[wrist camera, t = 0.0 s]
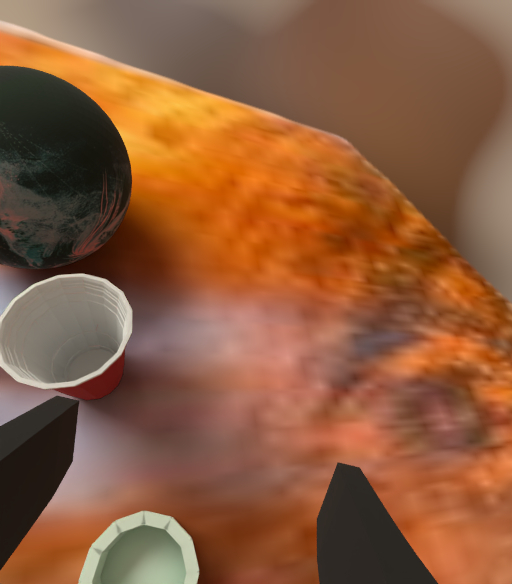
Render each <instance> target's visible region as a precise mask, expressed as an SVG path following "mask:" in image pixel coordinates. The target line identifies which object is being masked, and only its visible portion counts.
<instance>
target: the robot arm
mask: <svg viewBox="0 0 512 584" xmlns="http://www.w3.org/2000/svg"><path fill="white" fill-rule="evenodd" d="M78 406H79V401H77V400H73V399H69V398H65V397H60V396H56V397H54V398H52V399H50V400H48V401H46V402H44V403H42V404H40V405H39V406H37V407H35V408H33V409H31V410H30V411H28V412H26V413H24V414H22V415H20V416H18V417H17V418H15V419H13V420H11V421H9V422H7V423H5V424H4V425H2V426H0V570H1V569H2V567H3V566H4V565H5V563H6V562H7V560H8V559H9V558H10V556H11V555H12V553H13V552H14V551H15V549H16V548H17V546H18V545H19V544H20V542H21V541H22V539H23V538H24V537H25V535H26V534H27V533H28V531H29V530H30V528H31V527H32V526H33V524H34V523H35V521H36V520H37V519H38V517H39V516H40V514H41V513H42V511H43V510H44V509H45V507H46V506H47V504H48V503H49V502H50V500H51V499H52V497H53V496H54V494H55V492H56V490H57V488H58V487H59V485H60V483H61V481H62V480H63V478H64V476H65V474H66V472H67V470H68V469H69V467H70V465H71V463H72V461H73V452H74V443H75V434H76V425H77V415H78ZM317 563H318V572H319V581H320V584H438V583H437V581H436V580H435V579H434V578H433V576H432V575H431V573H430V572H429V571H428V569H427V568H426V567H425V565H424V564H423V563H422V561H421V560H420V559H419V557H418V556H417V555H416V553H415V552H414V550H413V549H412V547H411V546H410V545H409V543H408V542H407V540H406V539H405V537H404V536H403V534H402V533H401V532H400V530H399V529H398V527H397V526H396V524H395V523H394V521H393V519H392V518H391V516H390V515H389V513H388V512H387V510H386V509H385V507H384V505H383V504H382V502H381V501H380V499H379V498H378V496H377V494H376V493H375V491H374V490H373V488H372V486H371V485H370V483H369V482H368V480H367V478H366V477H365V475H364V474H363V472H362V471H361V469H360V468H359V467H355V466H351V465H346V464H342V463H337V466H336V469H335V471H334V474H333V477H332V480H331V482H330V485H329V488H328V490H327V493H326V496H325V499H324V501H323V504H322V507H321V509H320V512H319V515H318V518H317Z"/></svg>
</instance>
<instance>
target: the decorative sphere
mask: <svg viewBox="0 0 512 584" xmlns="http://www.w3.org/2000/svg"><path fill="white" fill-rule="evenodd" d="M131 188H132V175H131V165H130V161H129V157H128V153H127V150H126V147H125V145H124V142H123V140H122V138H121V136H120V134H119V132H118V130H117V129H116V127H115V125H114V124H113V122H112V121H111V119H110V118H109V117H108V115H107V114H106V113H105V112H104V111H103V110H102V109H101V108H100V106H99V105H98V104H97V103H96V102H95V101H93V100H92V99H91V98H90V97H89V96H87V95H86V94H85V93H84V92H82V91H81V90H80V89H78V88H76V87H75V86H73V85H72V84H70V83H68V82H67V81H65V80H62V79H60V78H58V77H56V76H54V75H51V74H49V73H45V72H42V71H39V70H35V69H31V68H26V67H18V66H0V264H2V265H6V266H11V267H15V268H25V269H47V268H54V267H60V266H64V265H68V264H71V263H73V262H76V261H79V260H81V259H83V258H85V257H87V256H89V255H90V254H92V253H93V252H95V251H96V250H98V249H99V248H100V247H101V246H103V245H104V244H105V243H106V242H107V241H108V240H109V239H110V238H111V237H112V236H113V234H114V233H115V232H116V230H117V229H118V228H119V226H120V224H121V222H122V220H123V219H124V216H125V214H126V211H127V209H128V205H129V201H130V197H131Z"/></svg>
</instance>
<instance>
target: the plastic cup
mask: <svg viewBox="0 0 512 584" xmlns="http://www.w3.org/2000/svg"><path fill="white" fill-rule="evenodd" d="M131 334H132V309H131V307H130V305H129V303H128V301H127V299H126V297H125V295H124V293H123V292H122V291H121V290H120V289H118V288H117V287H116V286H114V285H113V284H112V283H110V282H109V281H108V280H106V279H103V278H99V277H95V276H91V275H88V274H84V273H83V274H67V275H57V276H54V277H52V278H49V279H46V280H43V281H41V282H38V283H35V284H33V285H32V286H30V287H29V288H28V289H26V290H25V291H23V292H22V293H21V294H19V295H18V296H17V297H15V298H14V299H13V300H12V301H11V302H10V304H9V305H8V306H7V308H6V309H5V311H4V312H3V314H2V315H1V316H0V366H1V367H2V368H3V369H4V370H5V371H6V372H7V373H9V374H10V375H11V376H12V377H13V378H14V379H15V380H16V381H17V382H21V383H24V384H28V385H31V386H35V387H39V388H42V389H46V390H48V389H54V390H56V391H59V392H61V393H64V394H67V395H70V396H74V397H77V398H81V399H84V400H92V399H100V398H102V397H104V396H106V395H108V394H110V393H111V392H112V391H113V390H114V389H115V388H116V387H117V386H118V384H119V382H120V380H121V377H122V375H123V367H124V357H125V347H126V344H127V342H128V340H129V338H130V336H131Z"/></svg>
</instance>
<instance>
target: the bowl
mask: <svg viewBox="0 0 512 584" xmlns="http://www.w3.org/2000/svg"><path fill="white" fill-rule="evenodd" d="M191 538H192V537H191V536H190V535H189V534H188V533H187V531H186V530H185V529H184V528H183V527H182V526H181V525H180V524H179V523H178V522H177V521H176V519H175V518H173V517H170V516H166V515H162V514H158V513H153V512H149V511H141V512H138V513H135V514H132V515H130V516H127V517H124V518H121V519H118V520H115V521H114V522H113V523H112V524H111V525H110V526H109V527H108V528H107V529H106V531H105V532H104V533H103V534H102V535H101V536H100V537H99V538H98V539H97V540H96V541H95V542H94V543H93V544H92V545H91V546H92V547H90V549H89V552H88V555H87V558H86V561H85V564H84V567H83V570H82V572H81V575H80V578H79V583H78V584H197V581H198V576H199V565H198V561H197V557H196V552H195V548H194V543H193V539H191Z"/></svg>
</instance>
